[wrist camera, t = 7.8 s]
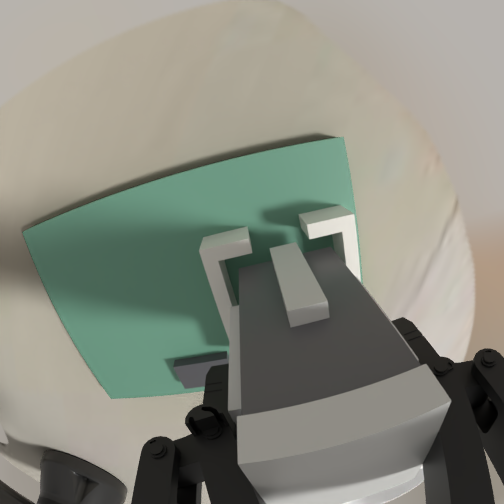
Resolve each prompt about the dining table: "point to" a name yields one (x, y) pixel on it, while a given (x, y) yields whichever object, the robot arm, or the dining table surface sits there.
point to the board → (177, 260)
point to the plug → (326, 385)
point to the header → (239, 244)
